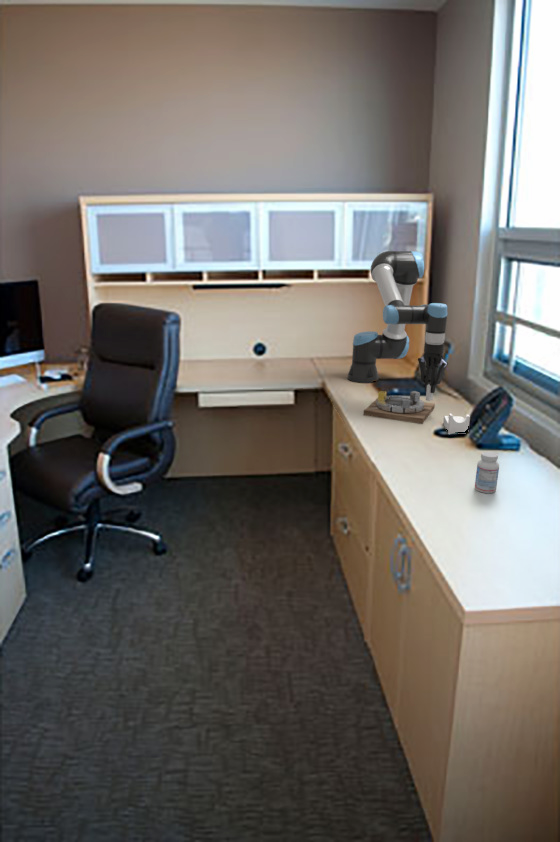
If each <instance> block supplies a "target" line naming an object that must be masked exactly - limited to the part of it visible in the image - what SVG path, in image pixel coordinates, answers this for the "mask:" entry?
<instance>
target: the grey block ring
mask: <svg viewBox="0 0 560 842" xmlns="http://www.w3.org/2000/svg"><path fill="white" fill-rule="evenodd" d="M377 393H378V394H377V398H378V400H377V406H378V407H379V408H380V409H382V410H386V411H390V412H391V411H392V412H397V413H403V412H404V413H415V412H419V411H423V409H424V402H425V401H423V400H421V399H420V398H421V392H419V391H416V390H413V391H410V394H409V395H410V396H406V395H397V394H396V395H395V394H394V395H387V391H384V390H380V391H378V392H377ZM392 398H405V399H401V406H396V405H391V404H388V400H389V399H392ZM410 400H412V401H413V405H412V406H410Z"/></svg>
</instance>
